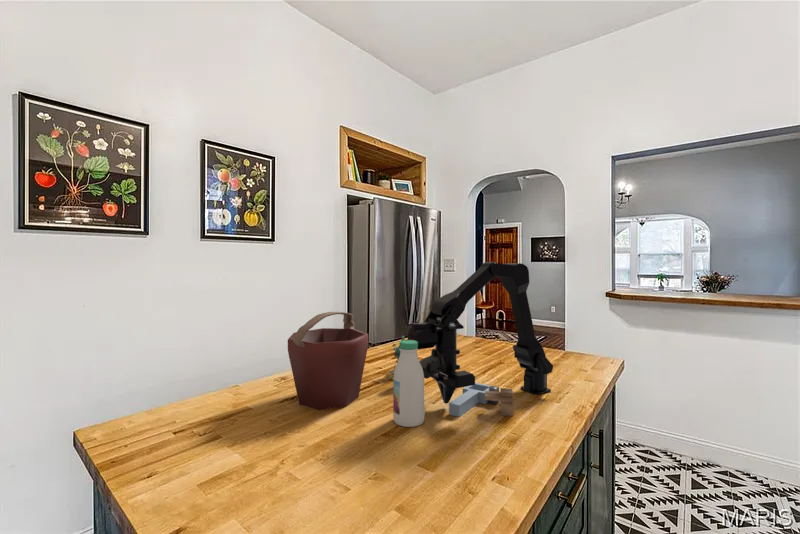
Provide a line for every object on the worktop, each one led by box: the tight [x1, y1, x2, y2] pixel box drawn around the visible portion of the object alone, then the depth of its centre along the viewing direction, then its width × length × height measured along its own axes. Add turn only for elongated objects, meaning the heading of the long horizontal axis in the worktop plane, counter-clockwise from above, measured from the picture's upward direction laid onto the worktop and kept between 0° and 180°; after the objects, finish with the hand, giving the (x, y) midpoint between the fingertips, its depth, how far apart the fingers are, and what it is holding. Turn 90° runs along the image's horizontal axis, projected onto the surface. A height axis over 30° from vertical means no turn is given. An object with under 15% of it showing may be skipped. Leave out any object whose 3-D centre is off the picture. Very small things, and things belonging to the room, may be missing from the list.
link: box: [448, 382, 491, 418], centre depth 106 cm, size 19×7×3 cm, turn 145°
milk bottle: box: [392, 339, 425, 428], centre depth 95 cm, size 8×8×20 cm
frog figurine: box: [382, 335, 405, 381], centre depth 134 cm, size 10×18×15 cm, turn 129°
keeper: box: [485, 387, 514, 417], centre depth 100 cm, size 4×7×6 cm, turn 77°
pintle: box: [488, 385, 500, 405], centre depth 108 cm, size 3×3×4 cm
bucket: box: [287, 311, 369, 411], centre depth 111 cm, size 24×22×25 cm
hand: (446, 403), depth 104 cm, fingers closed
